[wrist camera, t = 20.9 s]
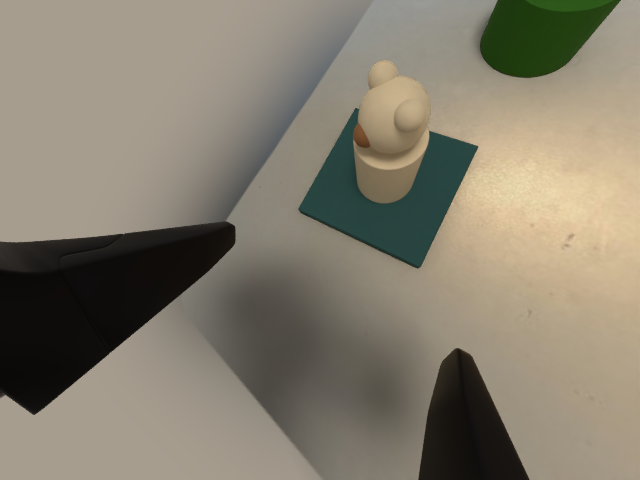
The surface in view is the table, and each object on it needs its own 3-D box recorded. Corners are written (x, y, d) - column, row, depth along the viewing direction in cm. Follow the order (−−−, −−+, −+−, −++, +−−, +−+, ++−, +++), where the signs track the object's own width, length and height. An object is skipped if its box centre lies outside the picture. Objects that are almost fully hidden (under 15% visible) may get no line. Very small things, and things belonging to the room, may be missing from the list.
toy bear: (396, 144, 23) (417, 29, 13) (424, 187, 21) (471, 94, 12) (346, 169, 23) (331, 75, 13) (371, 213, 22) (373, 144, 12)
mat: (417, 268, 21) (420, 267, 20) (300, 212, 24) (297, 209, 23) (474, 152, 22) (478, 146, 21) (355, 114, 26) (355, 107, 25)
